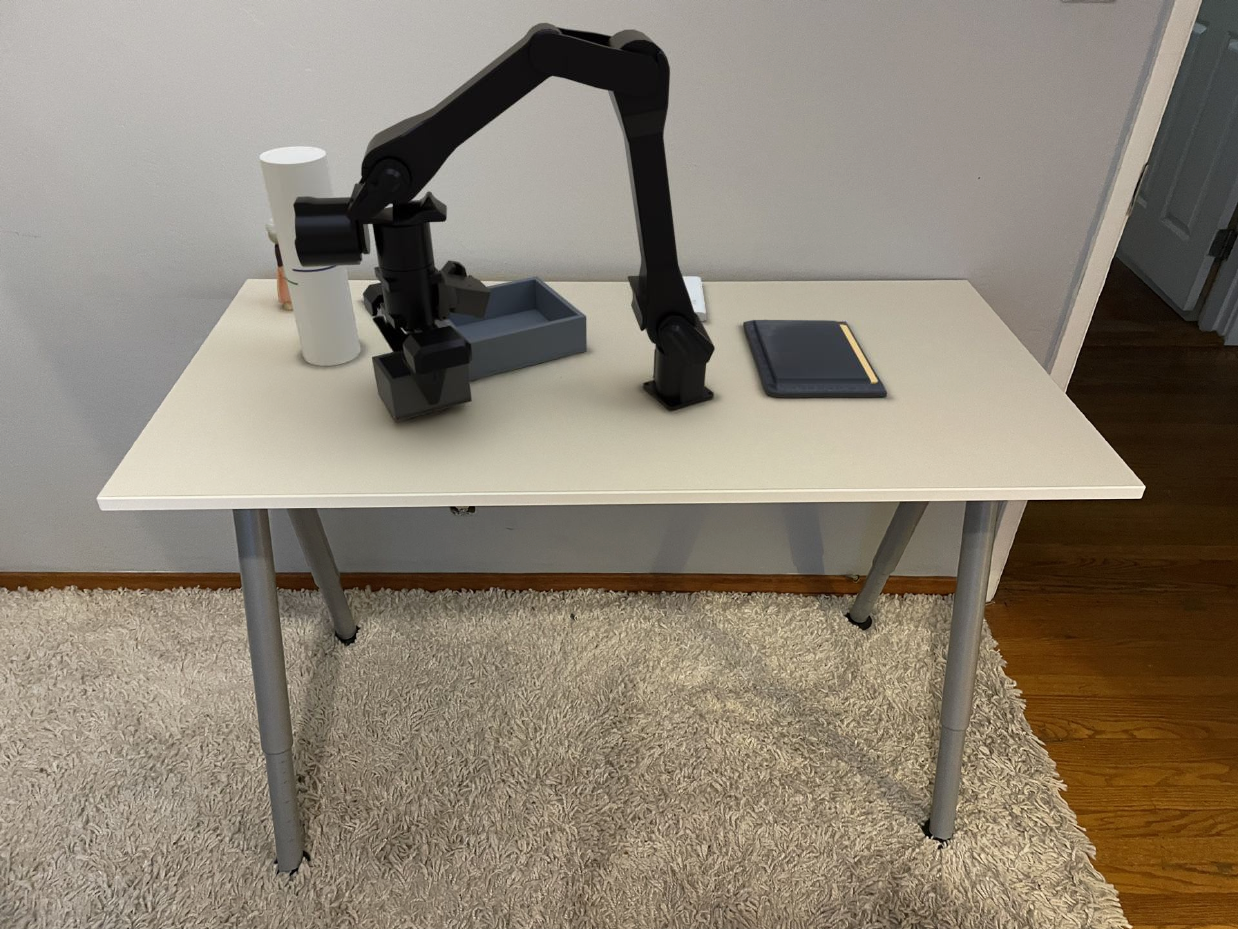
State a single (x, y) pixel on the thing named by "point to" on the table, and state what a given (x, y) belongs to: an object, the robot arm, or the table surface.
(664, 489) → the table surface
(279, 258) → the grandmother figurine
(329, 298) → the cylindrical container
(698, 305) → the hard drive
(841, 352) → the wallet
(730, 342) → the table surface
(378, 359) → the black bin
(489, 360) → the grey bin
